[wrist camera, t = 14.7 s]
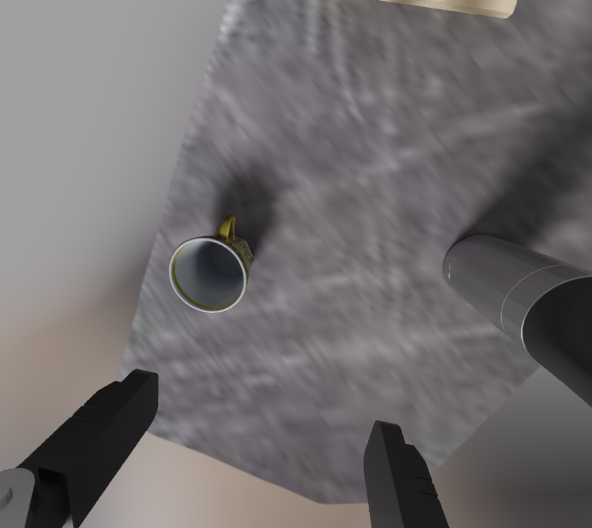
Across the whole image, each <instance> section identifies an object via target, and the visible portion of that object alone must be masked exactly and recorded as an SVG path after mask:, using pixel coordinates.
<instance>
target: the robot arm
mask: <svg viewBox="0 0 592 528" xmlns="http://www.w3.org/2000/svg"><path fill="white" fill-rule="evenodd" d="M443 274H444V278H445V280H446V282H447V283H448V285H449V286H450V287H451V288H452V289H454V290H455V291H456V292H457V293H458V294H459V295H460V296H462V297H463V298H464V299H465V300H466V301H467V302H468V303H470V304H471V305H472V306H473V307H474V308H475V309H477V310H478V311H479V312H480V313H481V314H482V315H484V316H485V317H486V318H487V319H488V320H489V321H491V322H492V323H493V324H494V325H495V326H496V327H498V328H499V329H500V330H501V331H502V332H503V333H505V334H506V335H507V336H508V337H509V338H510V339H512V340H513V341H514V342H515V343H516V344H518V345H519V346H520V347H521V348H522V349H523V350H525V351H526V352H527V353H528V354H529V355H530V356H532V357H533V358H534V359H535V360H536V361H537V362H538V363H540V364H541V365H542V366H543V367H544V368H546V369H547V370H548V371H549V372H551V373H552V374H553V375H554V376H555V377H557V378H558V379H559V380H561V381H562V382H563V383H564V384H565V385H566V386H568V387H569V388H570V389H571V390H572V391H573V392H575V393H576V394H577V395H578V396H579V397H580V398H582V399H583V400H584V401H585V402H586V403H587V404H588V405H589V406H591V407H592V271H590V270H587V269H584V268H581V267H578V266H575V265H572V264H570V263H567V262H564V261H561V260H558V259H555V258H552V257H550V256H547V255H544V254H541V253H538V252H535V251H533V250H530V249H527V248H524V247H521V246H518V245H515V244H513V243H510V242H507V241H504V240H502V239H499V238H496V237H493V236H489V235H474V236H470V237H467V238H465V239H463V240H461V241H459V242H458V243H456V244H455V245H454V246H453V247H452V248H451V249H450V251H449V252H448V253H447V255H446V257H445V260H444V264H443ZM157 409H158V374H157V373H154V372H149V371H144V370H140V369H135V370H133V371H132V372H131V373H130V374H129V375H128V376H127V377H126V378H125V379H124V380H123V381H122V382H118V381H114V382H112V383H111V384H109V385H107V386H105V387H104V388H102V389H100V390H98V391H97V392H96V393H95V394H94V395H93V396H92V397H91V398H90V399H89V400H88V401H87V402H86V403H85V404H84V406H81V407H80V408H79V409H78V410H77V411H76V412H75V413H74V414H73V416H72V417H70V418H69V419H68V420H67V421H66V422H64V424H62V425H61V426H60V427H59V428H58V429H57V430H56V431H55V432H54V433H53V434H52V435H51V436H50V437H49V438H48V439H46V440H45V441H44V442H43V443H42V444H41V445H40V446H39V447H38V448H37V449H36V450H35V451H34V452H33V453H32V454H31V455H30V456H29V457H28V458H26V459H25V460H24V461H23V462H22V463H21V464H20V465H19V466H17V467H16V468H14V469H8V470H4V471H1V472H0V528H79V526H80V525H81V524H82V522H83V521H84V519H85V518H86V516H87V515H88V513H89V512H90V511H91V509H92V508H93V506H94V505H95V504H96V502H97V501H98V499H99V498H100V496H101V495H102V493H103V492H104V491H105V489H106V488H107V486H108V485H109V483H110V482H111V481H112V479H113V478H114V476H115V475H116V473H117V472H118V471H119V469H120V468H121V466H122V464H123V463H124V462H125V461H126V459H127V458H128V456H129V455H130V453H131V452H132V451H133V449H134V447H135V446H136V445H137V443H138V442H139V441H140V439H141V438H142V436H143V435H144V433H145V432H146V431H147V429H148V428H149V426H150V425H151V423H152V421H153V420H154V417H155V415H156V412H157ZM364 475H365V483H366V490H367V497H368V504H369V512H370V519H371V526H372V528H449V526H448V523H447V520H446V518H445V515H444V512H443V509H442V507H441V504H440V501H439V500H438V498H437V496H438V495H437V493H436V490H435V487H434V484H432V479H431V476H430V473H429V470H428V467H427V465H426V462H425V461H424V459H423V458H422V456H421V455H420V453H419V452H418V451H417V449H416V448H415V446H414V445H409V444H405V441H404V437H403V434H402V431H401V428H400V426H399V425H397V424H392V423H387V422H383V421H378V420H377V421H375V423H374V426H373V429H372V432H371V435H370V438H369V441H368V444H367V447H366V450H365V454H364Z"/></svg>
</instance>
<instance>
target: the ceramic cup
mask: <svg viewBox="0 0 592 528" xmlns="http://www.w3.org/2000/svg"><path fill="white" fill-rule="evenodd" d="M234 226H235V217H234V216H233V215H228V216H227V217H226V218H225V219H224V221H223V222H222V224H221V226H220V228H219V232H218V236H202V237H197V238H192V239H189V240H187V241H185V242H183V243H182V244H180V245H179V246H178V247H177V248H176V249H175V251H174V252H173V254H172V256H171V258H170V262H169V269H168V270H169V278H170V282H171V284H172V287H173V289H174V291H175V292H176V294H177V295H178V296H179V297H180V298H181V299H182V300H183V301H184V302H185V303H186V304H188V305H189V306H191V307H193V308H195V309H197V310H200V311H203V312H210V313H215V312H222V311H225V310H227V309H229V308H231V307H233V306H234V305H235V304H236V303H237V302H238V301H239V300H240V299H241V297H242V296H243V294H244V291H245V288H246V285H247V282H248V278H249V272H250V265H251V262H252V258H253V255H252V253H251V251H250V249H249V246H248V244H247V242H246V241H245V240H244V239H241V238H239V237H237V236H234ZM229 229H230V233H229Z"/></svg>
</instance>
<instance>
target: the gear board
mask: <svg viewBox="0 0 592 528" xmlns="http://www.w3.org/2000/svg"><path fill="white" fill-rule="evenodd" d="M381 1H388V2H395V3H402V4H408V5H415V6H422V7H429V8H436V9H443V10H450V11H456V12H463V13H470V14H477V15H484V16H491V17H497V18H504V19H507V18H508V17H509V16H510V15H511V14H512V13H513V12H514V9H515V6H516V3H517V0H381Z"/></svg>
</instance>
